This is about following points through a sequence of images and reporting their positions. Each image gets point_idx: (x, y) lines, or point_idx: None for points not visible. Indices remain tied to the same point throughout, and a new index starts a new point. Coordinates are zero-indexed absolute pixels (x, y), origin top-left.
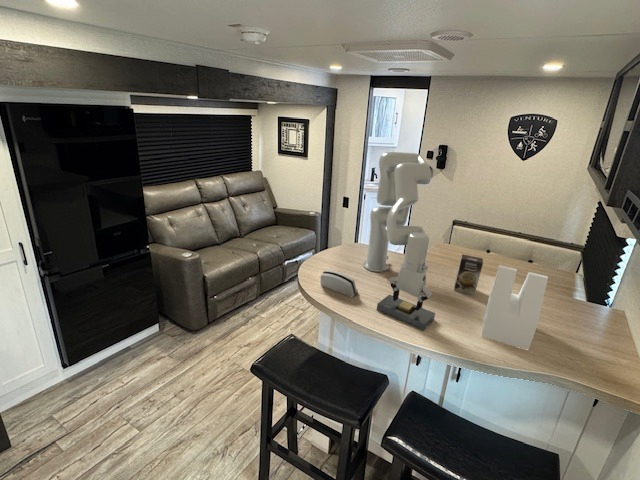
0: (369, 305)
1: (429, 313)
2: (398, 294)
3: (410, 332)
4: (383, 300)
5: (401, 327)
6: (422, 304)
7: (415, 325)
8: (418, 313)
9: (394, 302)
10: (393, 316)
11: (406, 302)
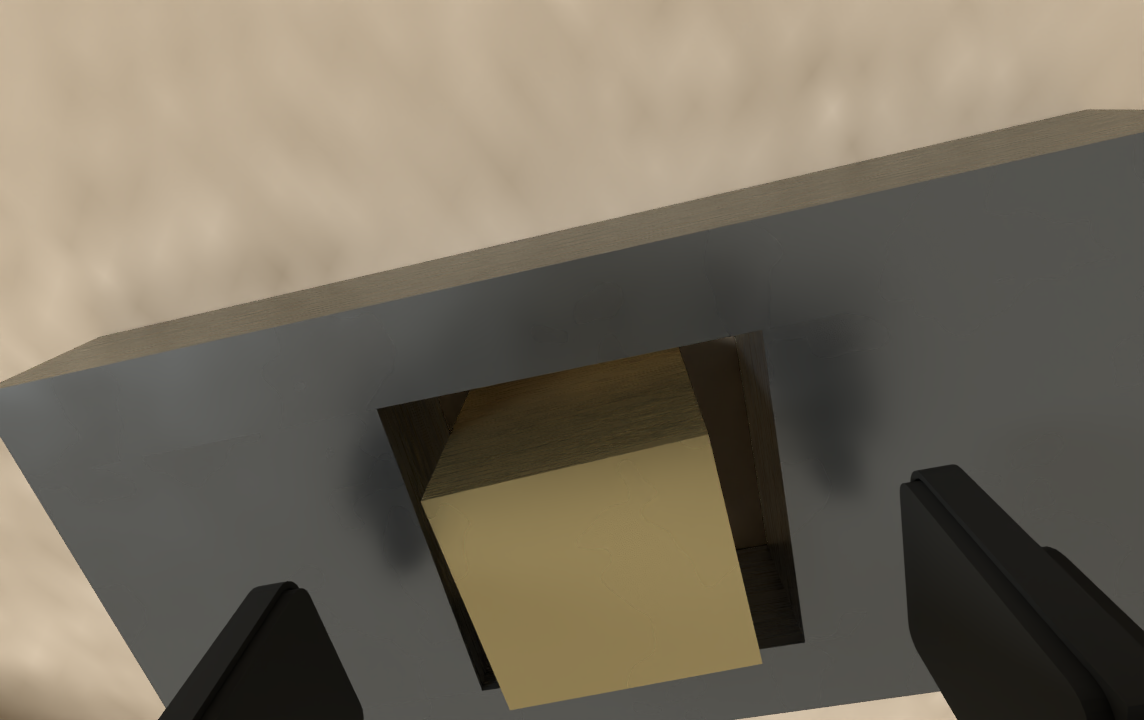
0: (131, 674)
1: (1109, 267)
2: (247, 713)
3: (930, 707)
4: (163, 658)
5: (779, 714)
6: (1116, 611)
7: None
8: (902, 480)
9: (313, 552)
10: None
11: (517, 495)
